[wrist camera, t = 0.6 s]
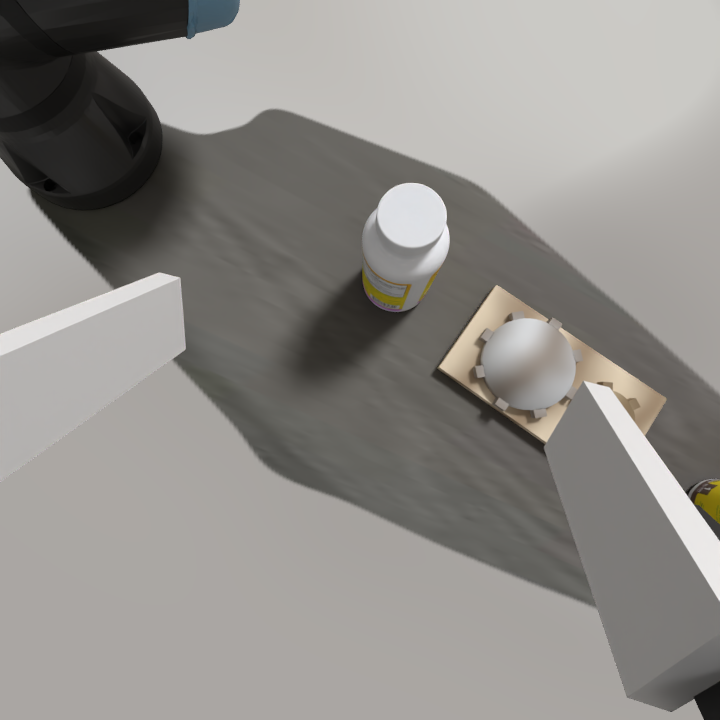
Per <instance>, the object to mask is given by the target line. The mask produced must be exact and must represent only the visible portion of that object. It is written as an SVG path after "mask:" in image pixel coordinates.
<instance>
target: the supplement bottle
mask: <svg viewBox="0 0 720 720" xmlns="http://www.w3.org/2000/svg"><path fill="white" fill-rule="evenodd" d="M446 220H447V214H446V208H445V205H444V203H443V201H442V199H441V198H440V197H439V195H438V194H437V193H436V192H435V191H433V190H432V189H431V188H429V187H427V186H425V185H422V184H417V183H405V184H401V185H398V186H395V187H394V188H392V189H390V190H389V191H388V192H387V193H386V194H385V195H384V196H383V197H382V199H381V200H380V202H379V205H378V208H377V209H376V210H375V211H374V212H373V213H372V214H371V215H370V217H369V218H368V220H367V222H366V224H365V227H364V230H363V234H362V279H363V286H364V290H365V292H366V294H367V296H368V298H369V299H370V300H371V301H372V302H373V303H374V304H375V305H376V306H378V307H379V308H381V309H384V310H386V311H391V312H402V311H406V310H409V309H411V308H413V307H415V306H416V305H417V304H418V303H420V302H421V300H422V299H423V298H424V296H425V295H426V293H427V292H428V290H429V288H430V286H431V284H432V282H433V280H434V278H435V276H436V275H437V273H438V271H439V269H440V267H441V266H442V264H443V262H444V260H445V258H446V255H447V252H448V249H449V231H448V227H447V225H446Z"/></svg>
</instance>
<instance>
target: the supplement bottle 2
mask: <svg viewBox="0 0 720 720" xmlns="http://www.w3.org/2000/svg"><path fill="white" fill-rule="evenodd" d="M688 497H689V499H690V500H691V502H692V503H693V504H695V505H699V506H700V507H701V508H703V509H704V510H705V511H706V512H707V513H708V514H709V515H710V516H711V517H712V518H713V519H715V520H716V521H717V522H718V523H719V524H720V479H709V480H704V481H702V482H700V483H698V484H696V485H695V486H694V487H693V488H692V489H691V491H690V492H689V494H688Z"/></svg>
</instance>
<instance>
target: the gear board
mask: <svg viewBox="0 0 720 720" xmlns="http://www.w3.org/2000/svg"><path fill="white" fill-rule="evenodd" d="M561 326H562V323H560V322H559V321H557V320H556V319H554V318H550V319H547V318H545V317H544V316H542V315H541V314H539V313H538V312H536V311H535V310H533V309H532V308H530V307H529V306H527V305H526V304H524V303H523V302H521V301H520V300H519V299H517V298H516V297H514V296H513V295H511V294H510V293H508V292H507V291H505V290H504V289H502V288H501V287H499V286H498V285H496V286H495V287H494V288H493V289H492V290H491V292H490V293H489V294H488V296H487V297H486V299H485V300H484V302H483V303H482V304H481V306H480V307H479V309H478V310H477V312H476V313H475V314H474V316H473V317H472V319H471V320H470V322H469V323H468V325H467V326H466V327H465V329H464V330H463V332H462V333H461V335H460V336H459V337H458V339H457V340H456V342H455V343H454V345H453V346H452V347H451V349H450V350H449V352H448V353H447V355H446V356H445V358H444V359H443V360H442V362H441V363H440V365H439V366H438V368H437V369H439V370H440V371H441V372H443V373H444V374H446V375H447V376H449V377H450V378H451V379H453V380H454V381H456V382H457V383H459V384H460V385H461V386H463V387H464V388H466V389H467V390H469V391H470V392H471V393H473V394H474V395H476V396H477V397H479V398H480V399H481V400H483V401H484V402H486V403H487V404H489V405H490V406H491V407H493V408H494V409H496V410H497V411H498V412H500V413H501V414H503V415H504V416H506V417H507V418H508V419H510V420H511V421H513V422H514V423H516V424H517V425H518V426H520V427H521V428H523V429H524V430H526V431H527V432H528V433H530V434H531V435H533V436H534V437H536V438H537V439H538V440H540V441H541V442H543V443H544V444H546V443H547V441H548V439H549V438H550V436H551V434H552V433H553V431H554V429H555V428H556V426H557V424H558V422H559V421H560V419H561V417H562V416H563V414H564V412H565V411H566V409H567V407H568V406H569V404H570V402H571V401H572V399H573V397H574V396H575V394H576V392H577V390H578V389H579V387H580V385H581V384H582V382H583V381H586V382H590V383H594V384H598V385H602V386H606V387H610V389H611V390H612V391H613V393H614V394H615V396H616V397H617V398H618V400H619V401H620V403H621V404H622V405H623V407H624V408H625V410H626V411H627V412H628V414H629V415H630V417H631V418H632V419H633V421H634V422H635V423H636V425H637V426H638V428H639V429H640V430H641V432H642V433H643V435H644V436H645V434H646V433H647V431H648V430H649V428H650V426H651V425H652V423H653V421H654V420H655V418H656V416H657V415H658V413H659V411H660V410H661V408H662V406H663V405H664V403H665V402H666V400H667V399H666V398H665V397H663V396H662V395H660V394H659V393H657V392H656V391H654V390H653V389H651V388H650V387H648V386H647V385H646V384H644V383H643V382H641V381H640V380H638V379H637V378H635V377H634V376H632V375H631V374H629V373H628V372H626V371H625V370H623V369H622V368H620V367H619V366H617V365H616V364H614V363H613V362H611V361H610V360H608V359H607V358H605V357H604V356H602V355H601V354H599V353H598V352H596V351H595V350H593V349H592V348H590V347H589V346H587V345H586V344H584V343H583V342H581V341H580V340H578V339H577V338H575V337H574V336H572V335H571V334H569V333H568V332H566V331H565V330H563V329H562V328H560V327H561Z"/></svg>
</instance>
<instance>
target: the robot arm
mask: <svg viewBox="0 0 720 720" xmlns="http://www.w3.org/2000/svg"><path fill="white" fill-rule="evenodd" d="M239 3H240V0H0V158H1V159H2V160H3V161H4V163H5V164H6V165H7V166H8V167H9V169H10V170H11V171H12V172H13V174H14V175H15V176H16V177H17V178H18V179H19V180H20V181H22V182H23V183H24V184H25V185H26V186H28V187H29V188H30V189H32V190H33V191H35V192H36V193H38V194H39V195H41V196H42V197H44V198H45V199H47V200H49V201H50V202H52V203H54V204H57V205H59V206H62V207H66V208H71V209H79V210H88V209H97V208H102V207H106V206H109V205H112V204H115V203H117V202H119V201H121V200H123V199H125V198H127V197H128V196H130V195H131V194H133V193H134V192H135V191H136V190H138V189H139V188H140V187H141V186H142V185H143V184H144V183H145V181H146V180H147V179H148V178H149V176H150V175H151V174H152V172H153V170H154V168H155V166H156V164H157V162H158V160H159V157H160V153H161V148H162V129H161V124H160V121H159V118H158V116H157V113H156V111H155V110H154V108H153V107H152V105H151V104H150V102H149V101H148V99H147V98H146V96H145V95H144V94H143V92H142V91H141V89H140V88H139V87H138V86H137V85H136V84H135V83H134V82H133V81H132V80H131V79H130V78H129V77H128V76H126V75H125V74H124V73H123V72H122V71H121V70H119V69H118V68H117V67H116V66H114V65H113V64H111V62H109V61H108V60H107V59H106V58H104V57H103V56H102V55H100V54H99V53H98V52H97V51H100V50H106V49H113V48H119V47H125V46H130V45H137V44H143V43H149V42H155V41H161V40H167V39H173V38H179V37H186V38H187V39H191V38H192V37H194V36H195V34H196V33H200V32H204V31H209V30H213V29H217V28H221V27H225V26H227V25H229V24H230V23H232V22H233V20H234V19H235V17H236V15H237V13H238V10H239ZM184 350H186V344H185V331H184V318H183V306H182V293H181V280H180V278H179V277H175V276H171V275H167V274H163V273H157V274H154V275H152V276H149V277H146V278H144V279H141V280H139V281H136V282H133V283H131V284H128V285H126V286H123V287H120V288H118V289H115V290H113V291H110V292H107V293H105V294H102V295H100V296H97V297H94V298H92V299H89V300H86V301H84V302H81V303H79V304H76V305H73V306H71V307H68V308H66V309H63V310H60V311H58V312H55V313H53V314H50V315H48V316H45V317H42V318H40V319H37V320H35V321H32V322H29V323H27V324H24V325H21V326H19V327H16V328H14V329H11V330H8V331H6V332H3V333H1V334H0V482H1V481H3V480H4V479H5V478H7V477H8V476H10V475H11V474H12V473H14V472H15V471H16V470H18V469H19V468H21V467H22V466H24V465H25V464H26V463H28V462H29V461H31V460H32V459H33V458H35V457H36V456H38V455H39V454H40V453H42V452H43V451H45V450H46V449H47V448H49V447H50V446H51V445H53V444H54V443H56V442H57V441H58V440H60V439H61V438H63V437H64V436H65V435H66V434H68V433H70V432H71V431H72V430H74V429H75V428H77V427H78V426H79V425H81V424H82V423H84V422H85V421H86V420H88V419H89V418H91V417H92V416H93V415H95V414H96V413H97V412H99V411H100V410H102V409H103V408H105V407H106V406H107V405H109V404H110V403H112V402H113V401H114V400H116V399H117V398H118V397H120V396H121V395H123V394H124V393H126V392H127V391H128V390H130V389H131V388H132V387H134V386H135V385H137V384H138V383H139V382H141V381H142V380H144V379H145V378H146V377H148V376H149V375H151V374H152V373H153V372H155V371H156V370H158V369H159V368H160V367H162V366H163V365H165V364H166V363H167V362H169V361H170V360H172V359H173V358H174V357H176V356H177V355H179V354H180V353H181V352H183V351H184ZM544 450H545V453H546V456H547V459H548V462H549V465H550V468H551V471H552V474H553V477H554V480H555V483H556V486H557V489H558V492H559V495H560V498H561V501H562V504H563V507H564V510H565V513H566V516H567V519H568V522H569V525H570V528H571V531H572V534H573V537H574V540H575V543H576V546H577V549H578V552H579V555H580V558H581V561H582V564H583V567H584V570H585V573H586V576H587V579H588V582H589V585H590V588H591V591H592V594H593V597H594V600H595V603H596V606H597V609H598V612H599V615H600V618H601V621H602V624H603V627H604V630H605V633H606V636H607V639H608V642H609V645H610V647H611V651H612V654H613V657H614V660H615V663H616V666H617V669H618V672H619V674H620V678H621V680H622V684H623V686H624V690H625V692H626V696H627V697H628V698H631V699H634V700H637V701H640V702H643V703H646V704H649V705H652V706H655V707H658V708H661V709H664V710H667V711H670V712H672V711H674V710H676V709H677V708H679V707H681V706H683V705H684V704H686V703H688V702H690V701H691V700H693V699H695V701H696V703H697V705H698V708H699V710H700V712H701V714H702V716H703V718H704V720H720V524H719V523H718V522H717V521H716V520H715V519H713V518H712V517H711V516H710V515H709V514H708V513H707V512H706V511H705V510H704V509H703V508H701V507H700V506H699V505H695V504H693V503H692V502H691V500H690V499H689V497H688V496H687V495H686V493H685V492H684V491H683V489H682V488H681V486H680V485H679V484H678V482H677V481H676V479H675V478H674V477H673V475H672V474H671V472H670V471H669V470H668V468H667V467H666V465H665V464H664V463H663V461H662V460H661V458H660V457H659V456H658V454H657V453H656V451H655V450H654V449H653V447H652V446H651V444H650V443H649V442H648V440H647V439H646V437H645V436H644V435H643V433H642V432H641V430H640V429H639V428H638V426H637V425H636V423H635V422H634V421H633V419H632V418H631V417H630V415H629V414H628V412H627V411H626V410H625V408H624V407H623V405H622V404H621V403H620V401H619V400H618V398H617V397H616V396H615V394H614V393H613V391H612V390H611V389H610V387H606V386H602V385H598V384H594V383H590V382H586V381H583V382H582V384H581V385H580V387H579V389H578V390H577V392H576V394H575V396H574V397H573V399H572V401H571V402H570V404H569V406H568V407H567V409H566V411H565V412H564V414H563V416H562V417H561V419H560V421H559V422H558V424H557V426H556V428H555V429H554V431H553V433H552V434H551V436H550V438H549V439H548V441H547V443H546V444H545V446H544Z"/></svg>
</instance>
